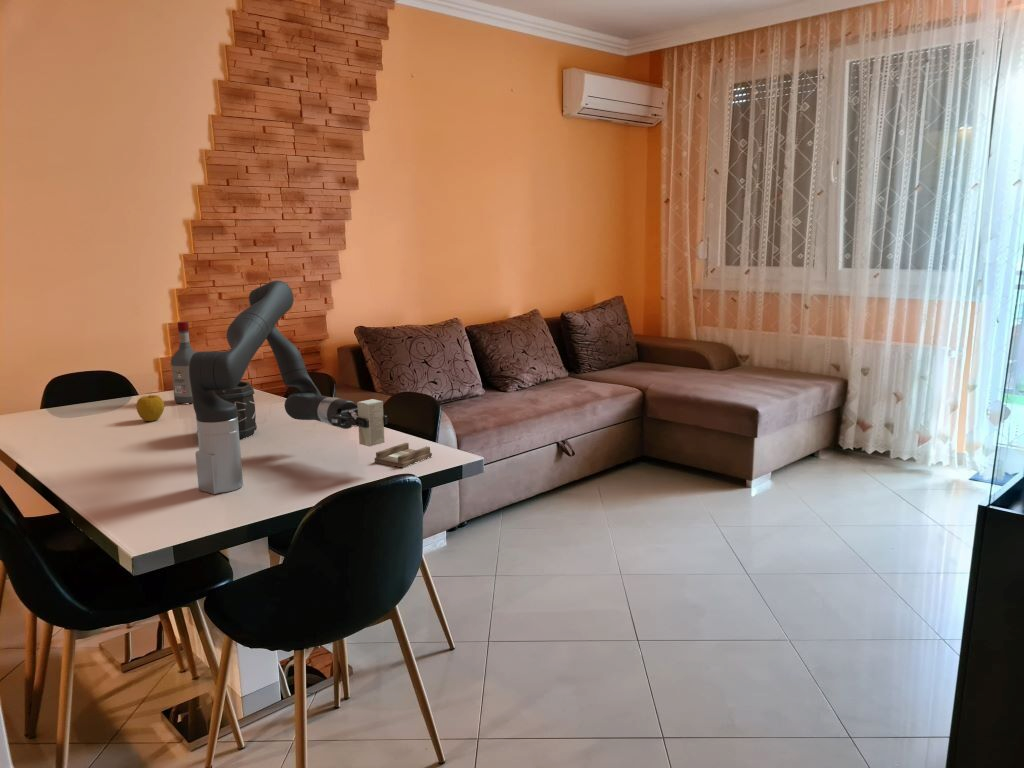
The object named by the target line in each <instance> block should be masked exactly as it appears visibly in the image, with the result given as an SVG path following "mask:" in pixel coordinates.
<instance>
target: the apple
mask: <svg viewBox="0 0 1024 768" xmlns="http://www.w3.org/2000/svg"><path fill="white" fill-rule="evenodd" d="M135 407H136V408H135V409H136V413H137V414H138V415H139V417H140V418H141V419H142V421H143V422H146V421H149V422H153V421H154V420H155V421H158V420H159V419H160V418H161V416H162V414H163V413H164V410H165V402H164V400H163V399H162V397H161V396H159V395H155V394H153V395H152V394H151V395H150V394H148V395H144V396H141V397H139V398H138V400H137V402H136V406H135ZM155 421H154V422H155Z"/></svg>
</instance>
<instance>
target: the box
mask: <svg viewBox="0 0 1024 768" xmlns="http://www.w3.org/2000/svg"><path fill="white" fill-rule="evenodd" d="M383 402H384V401H383V400H378V399H374V398H371V399H365V400H361V401H358V402H356V405H357V406H358V418H359V417H361V418H365V419H368V420H369V428H363V427H359V426H358V442H359V443H358V444H359V445H363V446H365V447H369V448H370V447H374V446H377V445H382V444H383V443H384V444H385V426H384V425H385V424H384V420H383V415H384V413H383V411H384V403H383Z"/></svg>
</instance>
